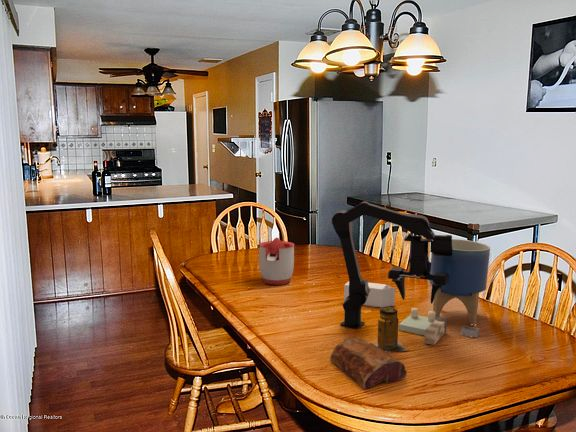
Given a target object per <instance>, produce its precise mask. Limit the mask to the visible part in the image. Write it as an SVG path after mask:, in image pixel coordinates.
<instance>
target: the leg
mask: <svg viewBox="0 0 576 432" xmlns="http://www.w3.org/2000/svg"><path fill="white" fill-rule="evenodd" d="M447 324H448V319H447V317H441V316H439V317H437V318H436V320H435V321H434V322H433V323H432V324H431V325H430V326H429V327H428V328H427V329H426V330H425V336H424V344H426V345H427V344H428V345H432V346H434V345H436V343H438V342H439V340H440V339H442V337H443V336H444V335H445V334H447V327H448V325H447Z"/></svg>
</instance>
